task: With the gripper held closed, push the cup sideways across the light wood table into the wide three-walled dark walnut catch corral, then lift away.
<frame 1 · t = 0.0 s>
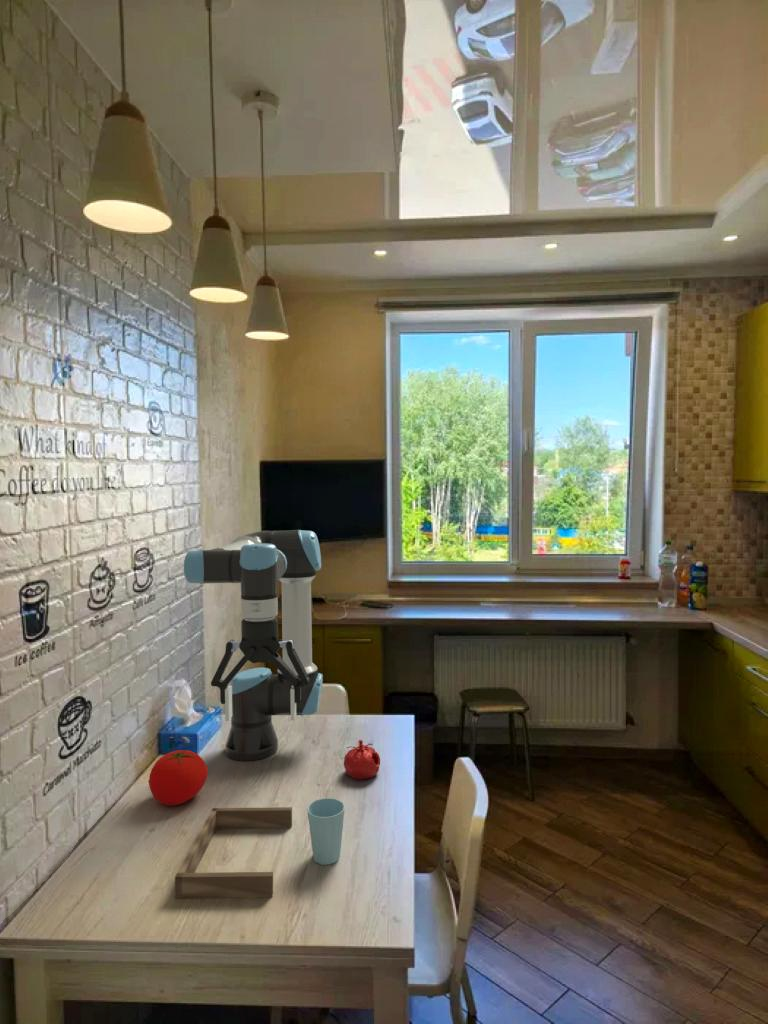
hand: (261, 718, 124), 28 cm above the table, fingers open, 13 cm apart
tomato: (178, 800, 146), on the table
cup: (326, 857, 122), on the table
corral: (196, 858, 122), on the table
pomegranate: (361, 775, 158), on the table
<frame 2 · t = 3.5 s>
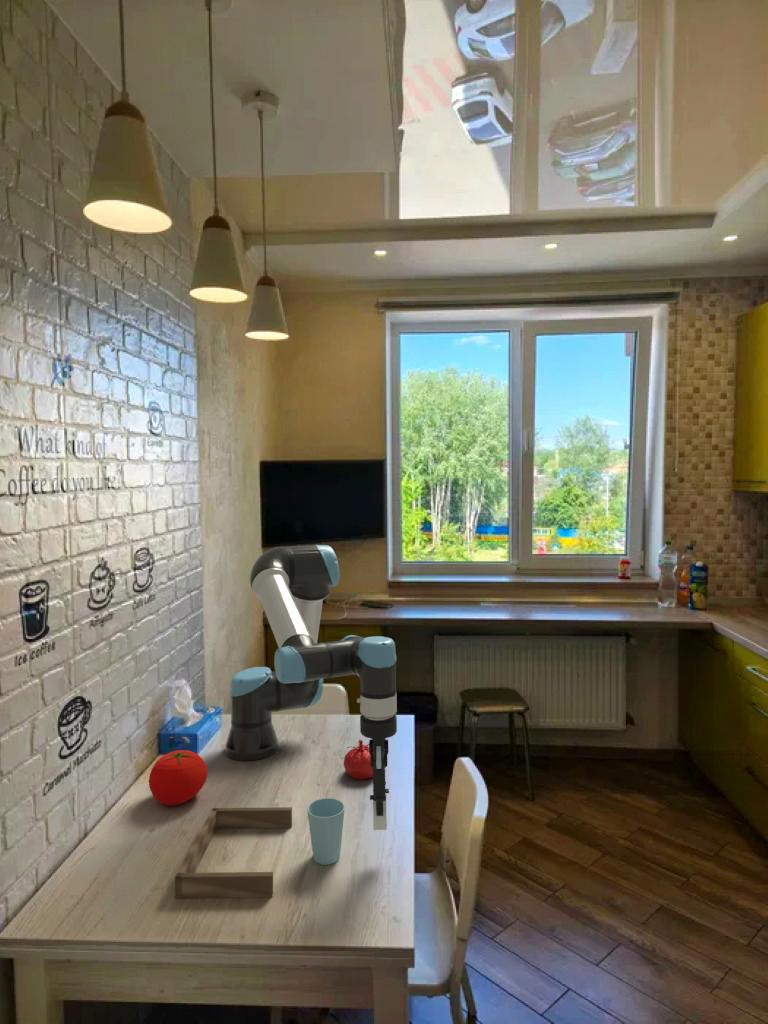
hand: (380, 827, 121), 6 cm above the table, fingers closed
nothing on the table moved.
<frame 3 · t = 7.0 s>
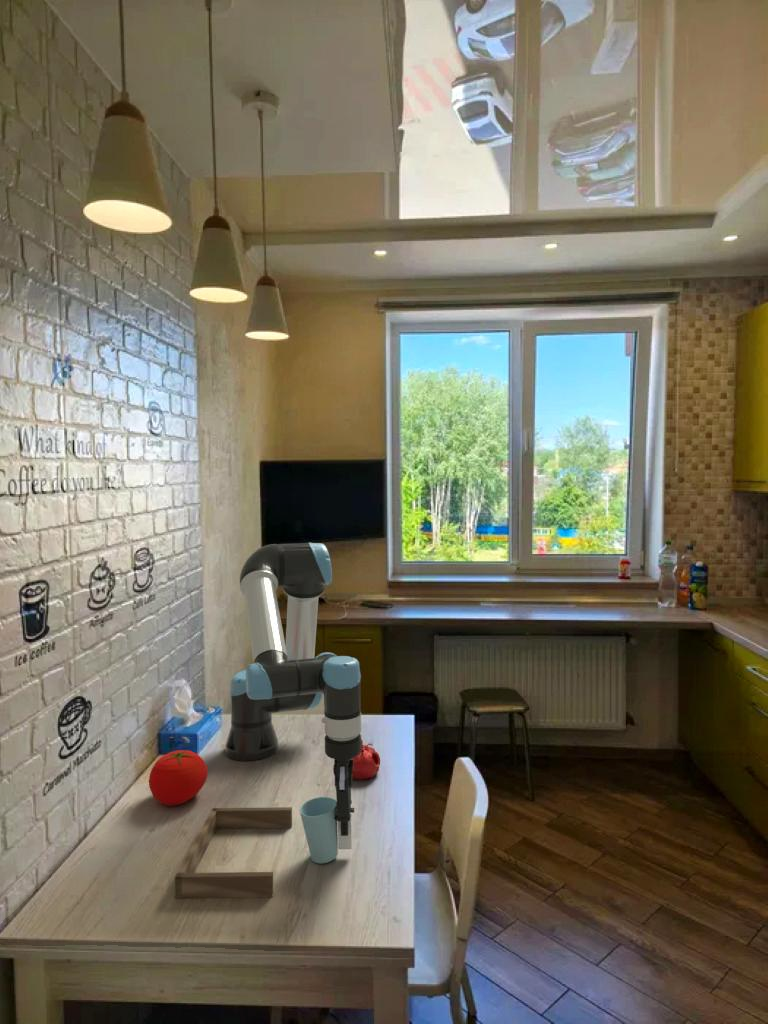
hand: (345, 847, 122), 2 cm above the table, fingers closed
cup: (324, 856, 122), on the table, touching gripper
everything else where it was.
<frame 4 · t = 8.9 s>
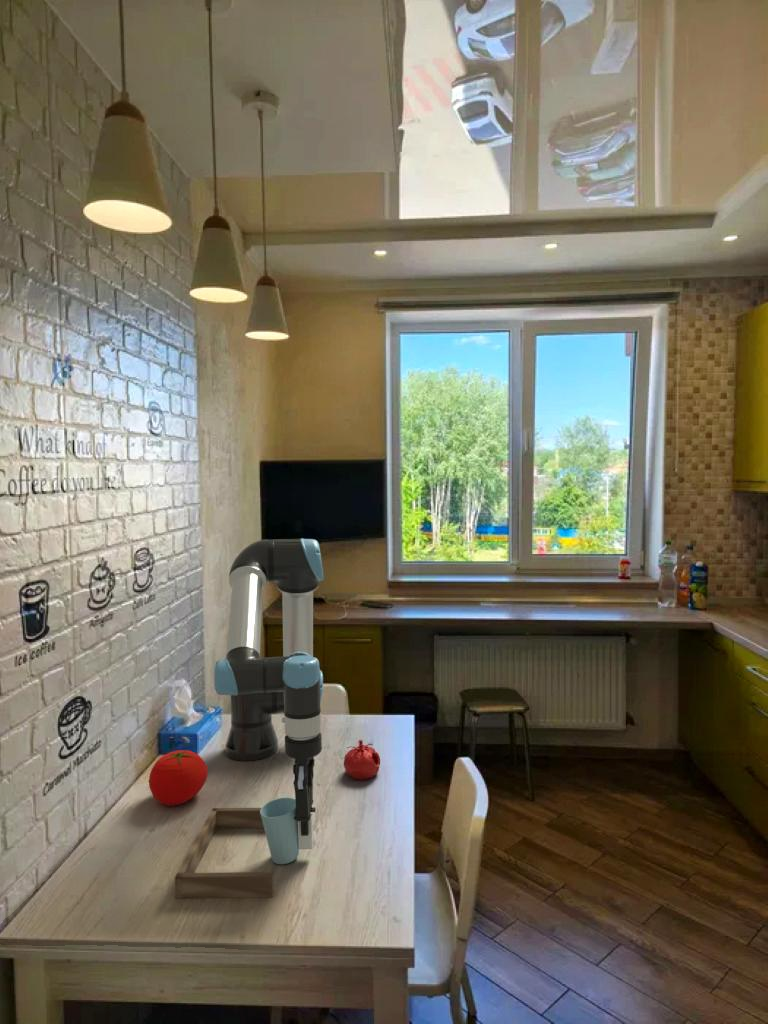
hand: (306, 846, 121), 2 cm above the table, fingers closed
cup: (285, 857, 121), on the table, touching gripper
everything else where it was.
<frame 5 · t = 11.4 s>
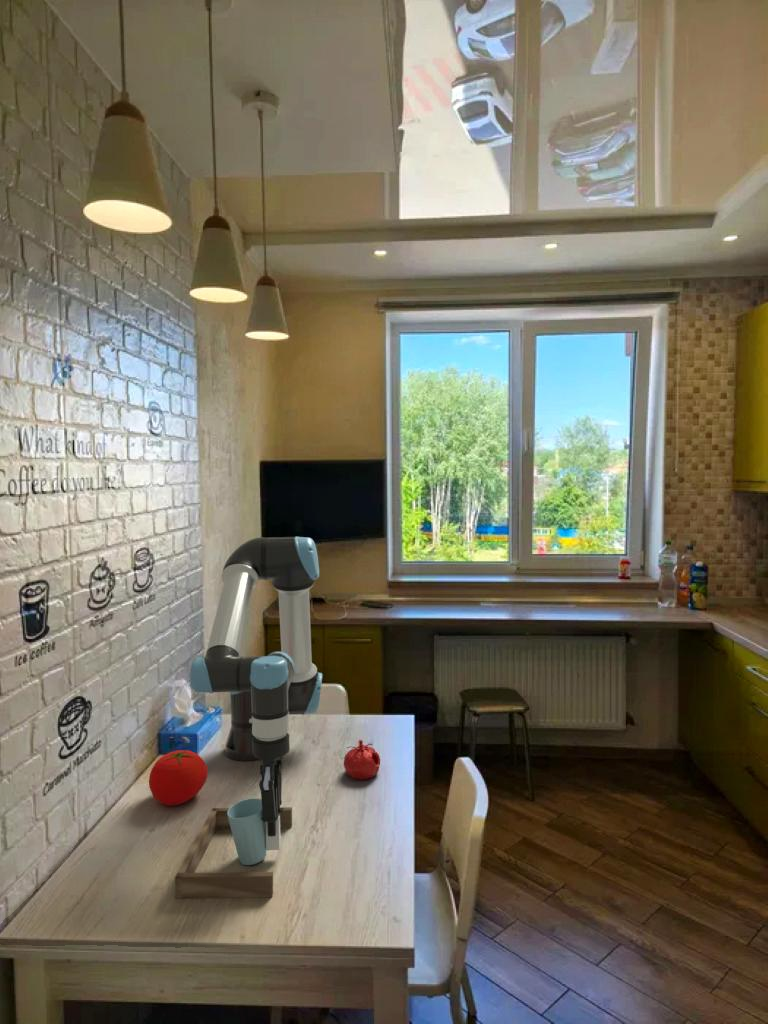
hand: (273, 847, 121), 2 cm above the table, fingers closed
cup: (253, 857, 121), on the table, touching gripper
everything else where it was.
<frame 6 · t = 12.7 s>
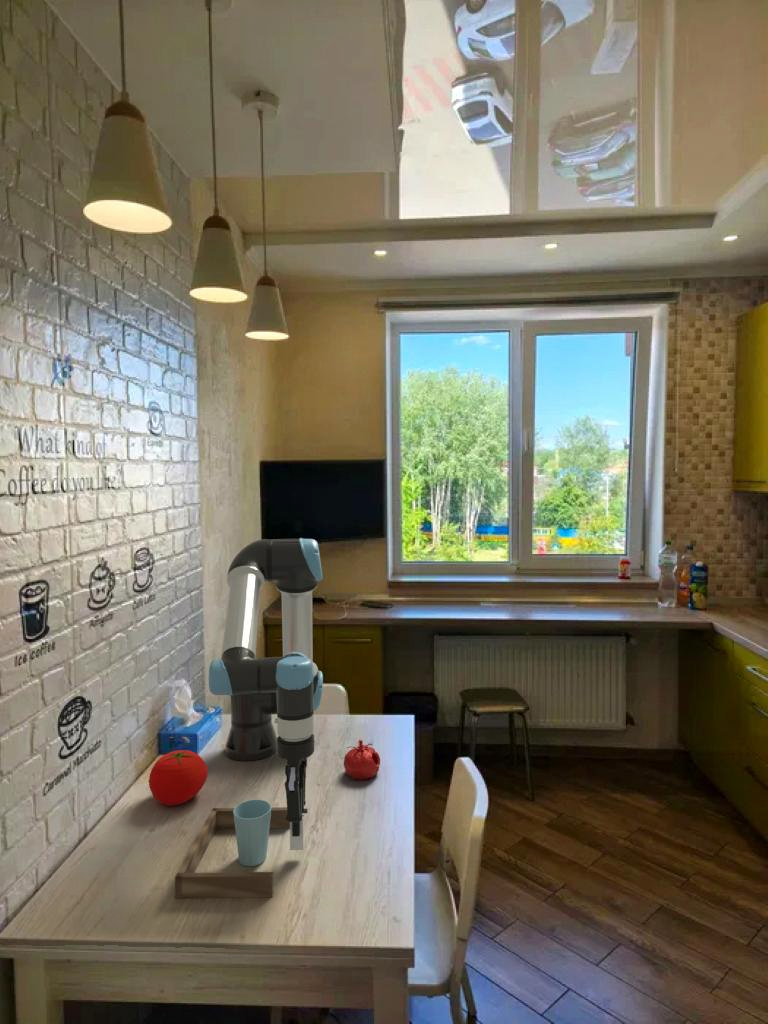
hand: (297, 847, 121), 2 cm above the table, fingers closed
cup: (252, 859, 121), on the table
everything else where it was.
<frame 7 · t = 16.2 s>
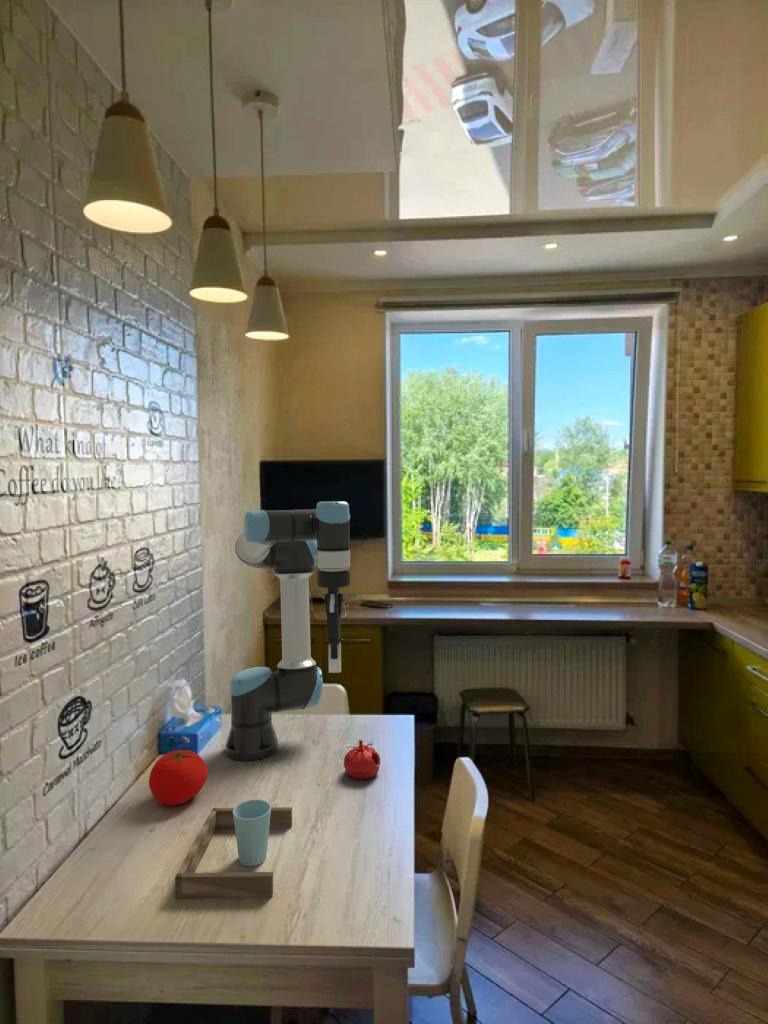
hand: (334, 671, 135), 34 cm above the table, fingers closed
nothing on the table moved.
at the end: cup inside the target area (2.3 cm from its centre), on the table; cup moved 15.2 cm from its start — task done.
